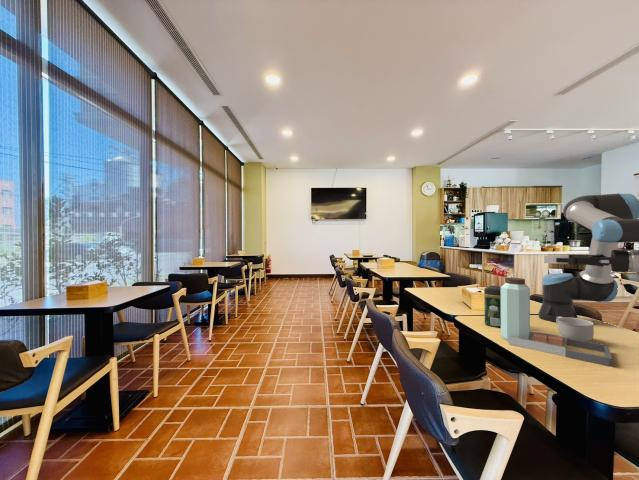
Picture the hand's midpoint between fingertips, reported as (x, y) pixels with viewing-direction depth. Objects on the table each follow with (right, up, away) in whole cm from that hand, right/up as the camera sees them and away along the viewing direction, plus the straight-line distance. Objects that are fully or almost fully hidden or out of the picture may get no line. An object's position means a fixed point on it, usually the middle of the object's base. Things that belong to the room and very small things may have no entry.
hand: (545, 258), depth 106 cm
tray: (+8, -34, -7) cm, 35 cm away
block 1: (-1, -34, +1) cm, 34 cm away
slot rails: (-2, -34, +2) cm, 34 cm away
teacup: (+17, -34, +8) cm, 39 cm away
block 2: (+2, -34, -2) cm, 34 cm away
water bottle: (-7, -34, +7) cm, 35 cm away
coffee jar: (-3, -34, +27) cm, 43 cm away
